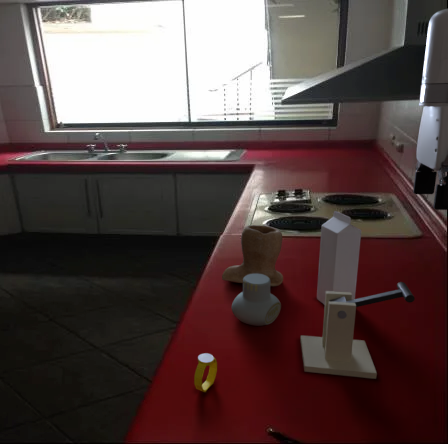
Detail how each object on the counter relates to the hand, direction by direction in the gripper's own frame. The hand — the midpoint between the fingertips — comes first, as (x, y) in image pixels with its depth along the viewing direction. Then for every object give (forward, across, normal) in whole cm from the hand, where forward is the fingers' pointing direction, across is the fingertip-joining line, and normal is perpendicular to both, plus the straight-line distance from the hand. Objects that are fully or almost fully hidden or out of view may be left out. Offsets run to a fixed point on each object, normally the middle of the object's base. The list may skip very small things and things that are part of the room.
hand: (433, 201), depth 70 cm
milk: (+30, +18, +11) cm, 37 cm away
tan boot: (+30, +28, +30) cm, 51 cm away
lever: (+18, -4, +9) cm, 21 cm away
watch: (+30, -16, +37) cm, 50 cm away
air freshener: (+30, +8, +29) cm, 43 cm away
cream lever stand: (+30, -4, +14) cm, 33 cm away
